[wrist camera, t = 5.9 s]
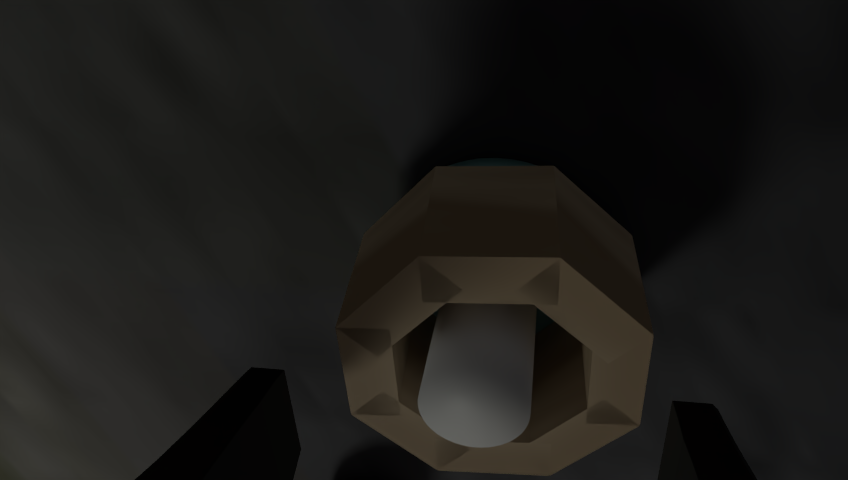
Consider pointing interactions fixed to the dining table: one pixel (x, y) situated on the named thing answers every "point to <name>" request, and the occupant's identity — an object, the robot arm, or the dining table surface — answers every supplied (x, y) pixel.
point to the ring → (500, 284)
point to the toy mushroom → (481, 365)
